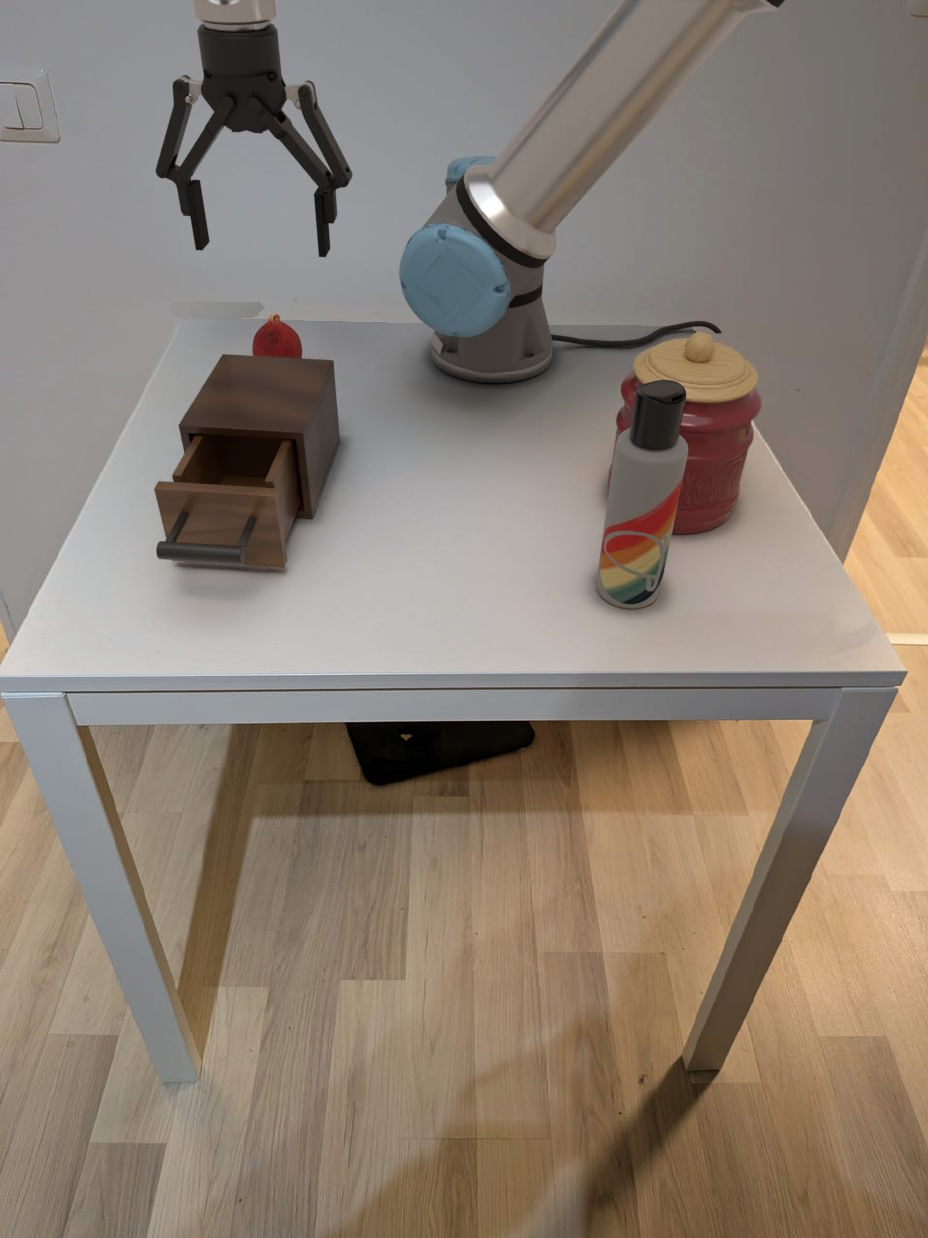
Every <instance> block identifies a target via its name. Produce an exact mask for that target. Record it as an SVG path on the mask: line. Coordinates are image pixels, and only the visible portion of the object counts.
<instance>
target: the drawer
mask: <svg viewBox="0 0 928 1238" xmlns="http://www.w3.org/2000/svg"><path fill="white" fill-rule="evenodd" d="M171 477H172V481H164V480H158V481H157V482H156V484H155V486H154V488H153V489H154V494H155V499H156V502H157V506H158V509H159V510H158V511H159V515H160V518H161V519H160V520H161V523H162V528H163V532H164V535H165V540H160V541H158V542H157V544H156V548H155V549H156V557H157V559H158V560H163V561H164V560H166V561H172V562H183V563H197V564H212V565H229V566H242V567H257V568H258V567H259V568H274V569H285V568H286V565H287V563H288V554H287V553H288V552H287V547H286V546H287V545H286V541H287V539H288V536H289V534H290V531H291V528H292V525H293V523H294V520H295V519H296V518H295V515H296V512H297V510H298V507H299V505H300V502H301V499H302V497H303V496H302V488H301V479H300V471H299V462H298V454H297V445H296V439H280V438H263V437H246V436H229V435H212V434H196V435H195V437H194V438H193V440H192V442H191V443H190V445H189V447H188V449H187V450H186V452H185V454H183V455H182V457H181V458H180V461H179V462H178V464H177V466H176V468H175V469H174V471H173V472H172V474H171Z"/></svg>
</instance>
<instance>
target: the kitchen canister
mask: <svg viewBox="0 0 928 1238" xmlns="http://www.w3.org/2000/svg"><path fill="white" fill-rule="evenodd" d="M632 369H633V370H632V371H631V372H629V373H628V374H627V375H626V376H625V377H624V378H623V380H622V382H621V384H620V395H621V398H622V400H623V404H622V406H621V407H620V409H619V410H618V412H617V413H616V414H617V415H616V419H615V425H616V432H615V439H614V445H613V452H612V460H611V464H610V465H609V468H608V476H607V488H608V490H609V489H610V482H611V475H612V468H613V461H614V454H615V448H616V442H617V439H618V437H619V435H620V434H621V433H622V432H624V431H625V430H627V429H629V428H630V427H631V421H632V414H633V408H634V401H635V394H636V390H637V388H638V387H639V386H641V385H643V384H646V383H649V382H652V381H657V380H672V381H675V382H678V383H680V384H681V385H682V386H683V387H684V388H685V390H686V402H685V407H684V412H683V417H682V422H681V427H680V433H679V435H680V436H682V437H683V438H684V439H685V441H686V443H687V445H688V455H687V460H686V465H685V470H684V475H683V480H682V485H681V490H680V495H679V500H678V505H677V510H676V515H675V520H674V525H673V530H672V534H694V533H701V532H705V531H710V530H711V529H714V528H716V527H718V526H720V525H722V524H723V523H724V522H726V521H727V520H728V519H729V517H730V516H731V514H732V512H733V509H734V508H735V507H736V504H737V503H738V500H739V495H740V491H741V480H742V476H743V473H744V468H745V466H746V465H745V464H746V460H747V457H748V453H749V450H750V449H749V448H750V447H751V446H752V444H753V442H754V437H755V433H754V428H753V426H752V422H753V420H754V419H755V418H756V417H757V416H758V415H759V414H760V412H761V409H762V407H763V406H762V405H763V401H762V396H761V394H760V392H759V391H758V389H757V388H756V387H757V385H758V382H759V373H758V371H757V369H756V368H755V366H754V365H753V364H752V363H751V362H750V361H748V360H747V359H746V358H745V357H743V356H742V354H741V353H739V351H737V350H735V349H734V348H732V347H730V346H728V345H726V344H724V343H721V342H717V341H715V340H714V338H713V336H711V334H709V333H708V332H705V331H698V332H694V333H693V334H691V335H690V336H689V337H681V338H673V339H669V340H664V341H662V342H660V343H658V344H657V345H654V346H652V347H649V348H646V349H644V350H643V351H641V352H640V353H639V354H638V355H636V357H635V359H634V361H633V365H632Z"/></svg>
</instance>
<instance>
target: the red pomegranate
mask: <svg viewBox="0 0 928 1238" xmlns="http://www.w3.org/2000/svg"><path fill="white" fill-rule="evenodd" d="M251 349H252V350H251V351H252V356H266V357H285V358H303V346H302V341H301V337H300V336H299V334H298V333H297V332H296V330H295V329H293V328H292V327H291V326H290V325H289V324H288V323H286V322H284V321H281V315H280V314H278V313H277V312H273V313H271V314H270V315H269V317H268V320H267V321H266V323H264V324H263V325H261V326H260V327H259V328H258V329H257V331H256V332H255V334H254V337H253V339H252V347H251Z"/></svg>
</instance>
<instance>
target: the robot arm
mask: <svg viewBox="0 0 928 1238" xmlns="http://www.w3.org/2000/svg"><path fill="white" fill-rule="evenodd" d="M192 1H193V2H192V3H193V11H194V17H195V18H196V19H197V20H199V21H200V22H202V23H201V24H200V25H199V26H198V28H197V29H196V33H197V40H198V47H199V54H200V61H201V67H202V72H203V79H202V80H197V79H192V78H191V77H190V76H189V75H187V74H182V75H181V76H180V77H178V78H176V80H174V81H173V82H172V98H173V101H172V102H173V105H172V110H171V113H170V116H169V117H170V118H169V121H168V124H167V127H166V131H165V135H164V137H163V138H164V139H163V143H162V146H161V149H160V153H159V156H158V159H157V163H156V166H155V174H156V176H157V177H158V178H160V179H167V180H169V181H172V183H174V185H175V186H176V190H177V197H178V201H179V203H178V204H179V208H180V212H181V214H182V216H183V217H190V224H191V230H192V234H193V235H192V236H193V241H194V249H195V251H204V249H205V248H206V247H207V246H208V245H209V244H210V242H211V241H210V236H209V228H208V222H207V215H206V208H205V202H204V196H203V190H202V184H201V179H192V177H193V176H194V174H195V172H196V170H197V169H198V167H199V166H200V164H201V163H202V161H203V160H204V158H205V157H206V155H207V153H208V152H209V150H210V149H211V147H212V146H213V144H214V143H215V141H216V140H217V138H218V136H219V135H220V133H221V132H222V131H223V129H224V128H226V129H229V130H231V133H243V132H250V133H253V134H264V133H265V132H267V131H269V132H270V134H272V136H273V137H274V138H275V140H278V141H279V142H280V143H281V144H282V146H284V147H285V149H286V150H287V151H288V152H289V154H290V155H291V156H292V157H293V159H295V161H296V163H298V164H299V166H300V167H301V168H302V169H303V171H305V173H306V174H307V175H308V176H309V178H311V180H312V182H314V183H315V185H316V186H317V188H316V190H315V191H314V193H313V203H314V214H315V227H316V239H317V250H318V258H327V255H328V254H329V253H330V252H329V251H330V249H331V236H330V224H334V223H335V222H336V220H337V218H338V206H337V205H338V203H337V190H339V189H341V188H347V187H348V186H349V184H350V182H351V180H352V179H353V171H352V169H351V168H350V165H349V163H348V162H347V159H346V157H345V155H344V153H343V151H342V150H341V147H340V146H339V144H338V142H337V140H336V138H335V135H334V134H333V132H332V130H331V128H330V126H329V124H328V122H327V120H326V118H325V115H324V114H323V112H322V110H321V108H320V106H319V102H318V101H319V100H318V96H317V91H316V86H315V83H314V82H313V81H311V80H310V79H308V80H305V81H304V82H303V83H299V84H286V82H285V80H284V78H283V74H282V64H281V54H280V43H279V33H278V28H277V27H276V25H275V24H274V23H271V21H273V20H274V19H275V18H276V16H277V11H276V10H277V9H276V0H192ZM785 1H786V0H620V1H619V2H618V4H617V5H616V6H615V8H614V9H613V10H612V12H611V13H610V14H609V15H608V16H607V18H606V19H605V20H604V21H603V23H602V24H601V25H600V26H599V28H598V29H597V30H596V32H595V33H594V34H593V36H592V37H591V38H590V39H589V40H588V42H587V43H586V44H585V45H584V47H583V48H582V49H581V51H580V52H579V53H578V54H577V56H576V57H575V58H574V60H573V61H572V62H571V63H570V65H569V66H568V67H567V69H566V70H565V71H564V72H562V73H563V74H561V76H560V77H559V78H558V80H557V81H556V82H555V83H554V85H553V86H552V87H551V89H550V90H549V91H548V92H547V93H546V95H545V96H544V97H543V99H542V100H541V101H540V103H539V104H538V105H537V106H536V108H535V109H534V110H533V111H532V113H531V114H530V115H529V116H528V118H527V119H526V120H525V121H524V123H523V124H522V125H521V126H520V128H519V129H518V130H517V132H516V133H515V134H514V135H513V137H512V138H510V140H509V141H508V143H507V144H506V146H504V148H503V149H502V151H500V153H499V155H498V156H491V155H490V156H489V155H476V156H475V155H474V156H463V157H458V158H455V159H453V160H451V161H450V162H449V164H448V165H447V170H446V178H445V179H444V185H445V186H446V188H445V189H446V192H445V193H446V196H445V197H444V198H443V200H442V201H441V202H440V204H439V205H438V206H437V207H436V208H435V210H434V211H433V212H432V214H431V216H429V218H428V219H427V220H426V222H425V223H424V224H423V225H422V226H421V228H420V229H417V230H416V231H414V233H412V235H411V236H410V237H409V239H408V240H407V242H406V245H405V247H404V250H403V252H402V255H401V258H400V262H399V271H398V276H399V277H398V279H399V282H400V286H401V292H402V294H403V297H404V299H405V301H406V303H407V305H408V306H409V309H411V311H412V312H413V314H415V316H416V317H417V318H418V319H419V320H420V321H421V322H422V323H423V324H424V325H426V326H427V327H428V328H430V329H432V330H433V332H432V335H431V338H430V343H431V344H430V345H431V349H430V351H431V352H430V353H431V359H432V361H433V363H434V364H435V365H436V366H437V367H438V368H439V369H440V370H442V371H443V372H444V373H446V374H448V375H451V376H453V377H455V378H458V379H462V380H465V381H471V382H476V383H483V384H484V383H485V384H506V383H507V384H508V383H514V382H519V381H520V382H521V381H524V380H528V379H530V378H533V377H535V376H539V375H540V374H542V373H543V372H545V371H546V370H547V369H548V368H549V366H550V365H551V363H552V360H553V351H554V350H553V348H554V347H553V341H556V342H562V343H570V344H575V345H581V346H596V347H611V348H612V347H616V348H617V347H631V346H638V345H643V344H646V343H648V342H650V341H653V340H654V339H655V338H657V337H659V336H660V335H663V334H665V333H667V332H668V333H669V332H673V331H678V330H684V329H688V328H689V329H690V328H697V327H702V328H707V329H709V330H711V331H712V332H713V333H714V334H718V335H720V334H722V330H721V329H720V328H719V327H718V326H717V325H716V324H714V323H712V322H710V321H705V320H693V321H692V320H691V321H687V322H680V323H676V324H670V325H665V326H662V327H660V328H658V329H656V330H654V331H653V332H651V333H649V334H647V335H645V336H642V337H640V338H635V339H625V340H603V339H590V338H589V339H588V338H579V337H574V336H568V335H562V334H561V335H560V334H552V333H551V330H550V325H549V322H548V318H547V314H546V310H545V304H544V302H543V287H544V275H545V264H546V262H547V261H548V260H549V259H550V258H551V257H552V256H553V255H554V253H555V252H556V250H557V235H556V234H557V233H556V229H557V227H558V226H559V225H560V224H561V223H562V222H563V221H564V220H565V218H567V216H568V215H569V214H570V213H571V212H572V211H573V209H574V208H575V207H576V206H577V205H578V204H579V203H580V202H581V200H582V199H584V198H585V196H586V195H587V194H588V193H589V192H590V191H591V190H592V188H593V187H594V186H595V185H596V184H597V183H598V182H599V180H600V179H601V178H602V177H603V176H604V175H605V174H606V172H607V171H608V170H609V169H611V167H612V166H613V165H614V164H615V162H616V161H617V160H618V159H619V158H620V157H621V156H622V155H623V153H625V151H626V150H627V149H628V148H629V147H630V146H631V145H632V144H633V143H634V141H635V140H636V139H637V138H638V137H639V136H640V134H641V133H643V131H644V130H645V129H646V128H647V127H648V125H649V124H650V123H651V122H652V121H653V120H654V119H655V118H656V117H657V116H658V114H659V113H660V112H661V111H663V109H664V108H665V107H666V106H667V105H668V103H669V102H670V101H671V100H672V99H673V98H674V96H676V94H677V93H678V92H679V91H680V90H681V89H682V88H683V86H685V84H686V83H687V82H688V81H689V80H690V79H691V77H692V76H693V75H694V74H695V73H696V72H698V70H699V69H700V68H701V67H702V65H703V64H704V63H705V62H706V61H707V60H708V59H709V57H710V56H711V55H712V54H713V53H714V52H715V51H716V50H717V49H718V48H719V46H720V45H721V44H722V43H723V42H724V41H725V39H727V37H729V35H730V34H731V33H732V32H733V31H734V30H735V29H736V27H737V26H738V25H739V24H740V23H741V22H742V21H743V19H744V18H745V17H746V16H749V15H751V14H752V15H753V14H761V13H770V12H772V13H773V12H776V11H777V10H778V9H779V8H780V7H781V6H782V4H783V3H784V2H785ZM200 96H202V98H203V99H204V101H205V102H206V104H207V105H208V106H209V107H210V108H211V110H212V112H213V113H212V115H211V116H210V118H209V119H208V121H207V123H206V124H205V126H204V128H203V130H202V131H201V133H200V134H199V136H198V138H197V139H196V141H195V143H194V144H193V145H192V147H191V148H190V150H189V152H188V153H187V155H186V157H185V158H184V160H183V162H182V163H181V165H178V164H176V163H177V162H178V161H177V160H178V156H179V153H180V150H181V147H182V144H183V143H182V142H183V140H184V137H185V133H186V129H187V126H188V121H189V119H190V115H191V112H192V108H193V105H194V104H195V103H197V102H198V100H199V97H200ZM288 100H290V101H291V102H292V103H293V106H294V107H295V108H296V110H298V111H301V114H302V117H303V120H304V121H305V124H306V125H307V128H308V130H309V132H310V133H311V135H312V137H313V139H314V141H315V143H316V145H317V146H318V149H319V150H320V152H321V154H322V156H323V158H324V160H325V162H323V161H322V159H321V158H320V157H319V156H318V154H317V153H316V152H315V151H314V150H313V148H312V147H311V146H310V145H309V143H308V142H307V141H306V140H305V138H303V136H302V135H301V134H300V133H299V131H298V130H297V128H296V127H295V126H294V124H293V122H292V120H291V119H290V118H289V116H288V115H287V114H286V113H285V111H283V107H284V106H285V104H286V102H287V101H288ZM325 163H326V164H325ZM327 166H328V167H327Z"/></svg>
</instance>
